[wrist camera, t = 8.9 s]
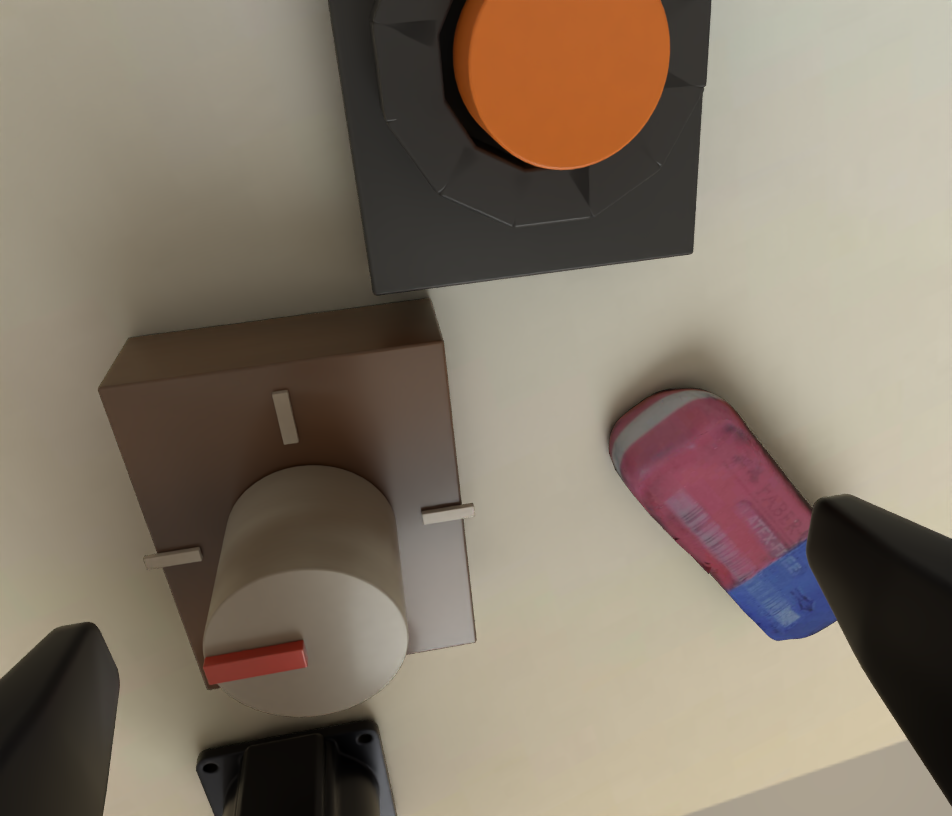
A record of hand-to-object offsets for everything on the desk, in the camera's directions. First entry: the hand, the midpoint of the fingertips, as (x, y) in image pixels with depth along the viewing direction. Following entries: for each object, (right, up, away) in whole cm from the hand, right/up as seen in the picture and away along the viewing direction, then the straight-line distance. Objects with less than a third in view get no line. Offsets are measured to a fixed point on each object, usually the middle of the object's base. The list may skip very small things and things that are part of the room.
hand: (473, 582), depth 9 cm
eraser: (+9, -1, +17) cm, 19 cm away
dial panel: (-5, 0, +13) cm, 14 cm away
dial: (-4, -1, +11) cm, 12 cm away
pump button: (+1, +9, +5) cm, 11 cm away
